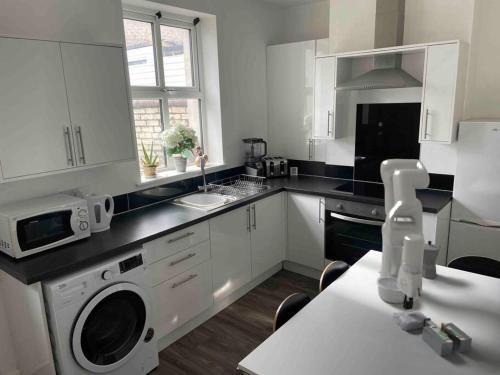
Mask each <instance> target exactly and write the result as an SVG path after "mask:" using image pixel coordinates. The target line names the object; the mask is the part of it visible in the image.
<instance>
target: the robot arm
mask: <svg viewBox="0 0 500 375" xmlns="http://www.w3.org/2000/svg"><path fill="white" fill-rule="evenodd" d="M380 176H381V180H382V182H383V186H384V212H385V215H386V217H385V221H384V223H382V226H381V234H382V235H381V237H382V252H381V264H380V266H381V267H380V270H378V274H379V276H378V278H377V279H376V283H377V282H378V280H379V279H380V278H382V277H395V278H398V279H397V287H398V289H400V290H401V291H402V292H403V298H404V301H403V302H402V304H403V305H402V308H403V309H404V311H405V310H413V308H414V302H419V301H420V297H421V296H422V293H423V292H422V291H423V277H422V273H421V272H422V265H423V254H424V245H425V243H426V242H425V238H424V237H425V236H424V233H423V231H424V230H423V228H424V227H423V225H424V224H423V206H422V203H421V202H422V201H420V199H418V198H417V196H416V189H417V190H424V189H427V188H428V187H429V185H430V176H429V172H428V170H427V168H426V166H425V165H424V163H423V162H422V161H421V160H419V159H413V158H412V159H411V158H410V159H407V158H406V159H404V158H403V159H402V158H393V159H392V158H391V159H386V160H383V161H381V163H380ZM394 219H409V220H410V221H409V220H407V221H406V220H394Z"/></svg>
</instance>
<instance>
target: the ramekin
mask: <svg viewBox="0 0 500 375" xmlns="http://www.w3.org/2000/svg"><path fill="white" fill-rule="evenodd" d="M397 279H398V278H395V277H382V278H380V279H379V280H378V282H377V281H376V285H377V293H378V297H380V299H381V300H382V301H384V302H387V303H389V304H390V303H391V304H401V303H402V304H403V302H404V298H403V292H402V291H401V290H400V289H398V287H397Z"/></svg>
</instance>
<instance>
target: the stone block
mask: <svg viewBox="0 0 500 375" xmlns="http://www.w3.org/2000/svg"><path fill="white" fill-rule="evenodd" d="M424 318H428V317H427V316H426V315H425V314H423V313H422V312H421V311H419V310H415V309H408V310H405V309H404V310H403V311H399V312H398V311H397V312H393V314H392V321H393V323H394V324H396V325H397V326H399V327H400V328H401V329H403V331H406V332H408V331H413V330H417V329H418V330H419V329H423V327H424V326H423V324H424ZM425 327H426V326H425Z"/></svg>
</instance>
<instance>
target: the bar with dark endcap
mask: <svg viewBox="0 0 500 375" xmlns="http://www.w3.org/2000/svg"><path fill="white" fill-rule="evenodd" d="M444 323H445V322H441V324H440V326H439V325H437V324H436V323H435V322H434V321H433V320H432V319H431V318H430V317H427V318H424V324H423V326H424V327H425V326H431V325H434V326H435V327H437V329H439V330H440V331H442V332H443V333H444V334H445V335H446V336H447V337H449V335H448V334H447V333H445V332H444V331H443V328H444Z"/></svg>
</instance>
